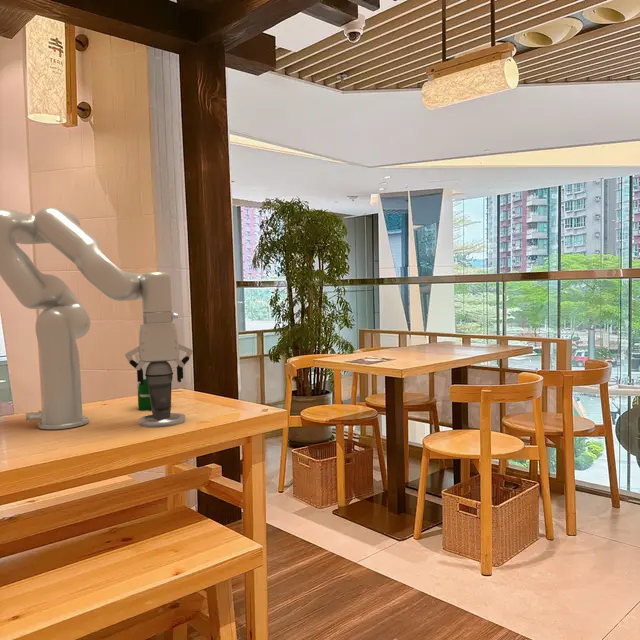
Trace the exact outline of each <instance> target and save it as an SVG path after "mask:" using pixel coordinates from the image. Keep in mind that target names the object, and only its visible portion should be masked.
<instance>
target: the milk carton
mask: <svg viewBox="0 0 640 640" xmlns="http://www.w3.org/2000/svg"><path fill="white" fill-rule="evenodd" d="M134 358H135V362H136V363H138V362H139V361H140V360H141V359H140V357H139V352H138V353H136V354H134ZM167 362H168V363H169V361H167ZM149 363H150V362H146V363H145V364H144V365H143V366H142V369H143V383H144V385H141V384H140V382H138V380H137V379H136V380H137V381H136V384H137V387H136V388H137V405H138V406H137V408H138V411H152V409H151V402H150V395H149V389H148V383H147V380H146V376H145V374H146V369H147V366H148V365H149Z"/></svg>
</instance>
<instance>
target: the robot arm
mask: <svg viewBox="0 0 640 640" xmlns="http://www.w3.org/2000/svg"><path fill="white" fill-rule="evenodd" d="M18 244H20V245H39V244H40V245H41V244H50V245H51V246H53V247H54V248H55V249H56V250H57V251H59V253H61V254H62V255H64V256H65V257H66V258H67V259H68V260H70V261H71V262H72V263H73V264H74V265H75V267H76V268H77V270H78V271H80V273H81V274H82V276H83V277H85V279H86V280H87V281H88V282H89V283H90V284H91V285H93V286H94V287H96V289H98V290H99V291H100V292H101V293H103V294H104V295H105V296H106V297H108V298H110V299H112V300H114V301H117V302H123V301H124V302H125V301H127V302H129V301H137V300H141V304H142V305H141V306H142V322H143V323H142V324H140V325H139V332H138V333H139V334H138V335H139V336H138V346H137V347H135V348H133V349H130V350H129V351H127V352H125V355H124V356H125V358H126V359H127V361H128V362H129V365H131V367H133V368H134V369H136V380H138V382H140V384H141V385H144V383H143V369H142V366H143V365H144V364H145V363H146V362H162V361H168V362H173V361H174V362H175V363H176V364H177V366H176V379H177V382H178V383H181V382H182V380H183V379H184V366H185V365H186V364H187V363H188V362H189V361H190V358H191V357H192V354H193V351H194V350H192V349H191V348H190V347H187V346H184V345H182V344H180V343H179V337H178V331H177V330H178V329H177V325H176V323H175V322H173V321H174V320H176V319H177V320H178V319H179V315H178V313H175V312H173V300H172V280H171V275H170V274H169V273H168V272H166V271H165V272H164V271H151V272H150V271H149V272H148V271H147V272H144V273H138V272H137V273H136V272H130V271H123V270H122V269H121V268H119V267H118V266H117V265H115V264H114V263H113V262H112V261H111V260H110V259H108V258H107V257H106V255H104V254H103V252H102V251H101V249H100V242H99V241H98V240H97V238H96V237H95V236H93V235H92V234H91V233H90V232H88V231H87V230H86V229H84V228H83V227H82V226H81V223H80V220H79V219H78V217H77V216H76V215H75V214H74V213H72V212H70V211H68V210H64V209H61V208H58V207H54V206H53V207H52V206H48V207H44V208H42V209H39V210H37V212H36V213H25V212H21V211H18V210H13V209H7V208H0V278H1V279H2V280H3V281H4V283H5V284H6V286H7V287H8V288H9V290H10V291H11V292H12V294H13V295H14V296H15V298H16V299H17V301H18V302H19V303H20V304H21V305H22V306H23V307H25V308H26V309H30V310H43V311H41V313H40V314H39V315H38V316H37V318H36V321H35V326H34V327H35V329H34V330H35V336H36V339H37V343H38V349H39V355H40V356H39V358H40V370H41V383H42V385H41V387H42V405H43V407H42V409H41V410H38V412H37V411H36V412H25V421H37V420H38V421H39V422H38V423H37V427H38V429H41V430H66V429H71V428H76V427H81V426H84V425H86V424H88V423H89V422H90V417H89V416H87V415H83V413H84V412H83V397H82V380H81V379H82V378H81V377H82V376H81V364H80V361H81V360H80V351H79V347H78V344H77V341H76V340H78V339H81V338H83V337H84V336H86V334H88V333H89V331H90V327H91V317H90V316H89V315H90V314H89V313H88V312H87V310H86V309H85V307H84V306H83V304H82V303H81V302H80V301H79V299H78V298H77V296H76V295H75V294H74V292H73V291H72V290H71V288H70V287H69V285H68V284H66V282H65V281H64V280H62V279H61V278H60V277H59V276H56V275H53V274H50V273H49V274H48V273H47V274H46V273H43V272H42V271H40V270H39V268H38V267H37V266H36V265H35V264H34V262H33V261H32V259H31V258H30V257H29V255H28V254H27V253H26V252H25V251H23V249H22V248H20V246H19V245H18ZM180 351H183V352H185V355H184V357H183V358H182V359H180ZM138 352H139V357H140V359H141V360H140V361H139V362H138V363H136V360H134V358H133V356H135V354H136V353H138Z"/></svg>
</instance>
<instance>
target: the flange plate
mask: <svg viewBox="0 0 640 640" xmlns="http://www.w3.org/2000/svg"><path fill="white" fill-rule="evenodd" d="M186 419H187V418H186V414H183V413H181V412H180V413H178V412H170V417H168V418H164V419H154V418H153V414H149V415H144V416H142V417H139V418H138V426H140V425H141V426H140V427H143V426H146V427H145V428H165V427H164V426H166V427H172V425H173V426H177V425H176V424H178V425H180V423H181V424H183V423H185V422H186V421H185V420H186ZM184 421H185V422H184Z"/></svg>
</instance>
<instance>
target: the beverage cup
mask: <svg viewBox="0 0 640 640" xmlns="http://www.w3.org/2000/svg"><path fill="white" fill-rule="evenodd" d="M173 374H174V372H173V369H172V365H171V364H170V362H169V361H168V362H167V361H162V362H150V363H149V365H148V366H147V369H146V374H145V376H146V380H147V383H148V389H149V395H150V402H151V409H152V410H151V415H153V418H154V419H164V418H168V417H170V413H172V412H171V410H172V409H171V408H172V382H173Z"/></svg>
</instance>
